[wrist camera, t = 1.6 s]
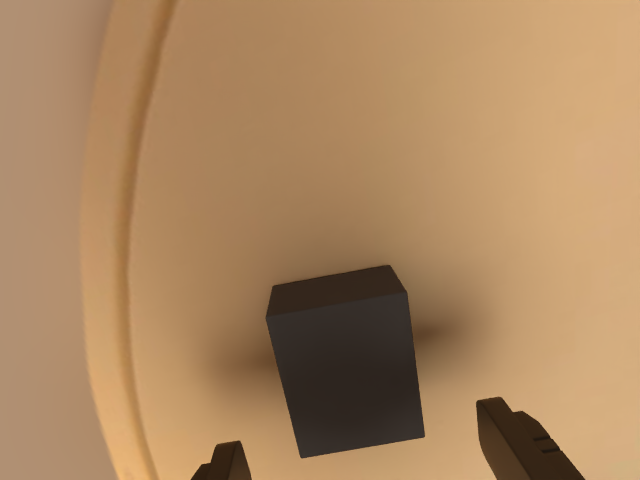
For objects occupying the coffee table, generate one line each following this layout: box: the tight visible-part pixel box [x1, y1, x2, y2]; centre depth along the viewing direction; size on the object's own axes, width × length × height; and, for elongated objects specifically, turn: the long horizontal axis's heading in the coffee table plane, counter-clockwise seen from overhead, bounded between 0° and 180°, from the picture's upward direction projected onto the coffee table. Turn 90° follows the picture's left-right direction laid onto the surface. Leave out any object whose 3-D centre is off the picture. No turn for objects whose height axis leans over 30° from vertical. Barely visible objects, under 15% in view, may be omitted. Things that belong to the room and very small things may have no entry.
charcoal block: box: [266, 265, 425, 458], centre depth 16 cm, size 7×6×3 cm
